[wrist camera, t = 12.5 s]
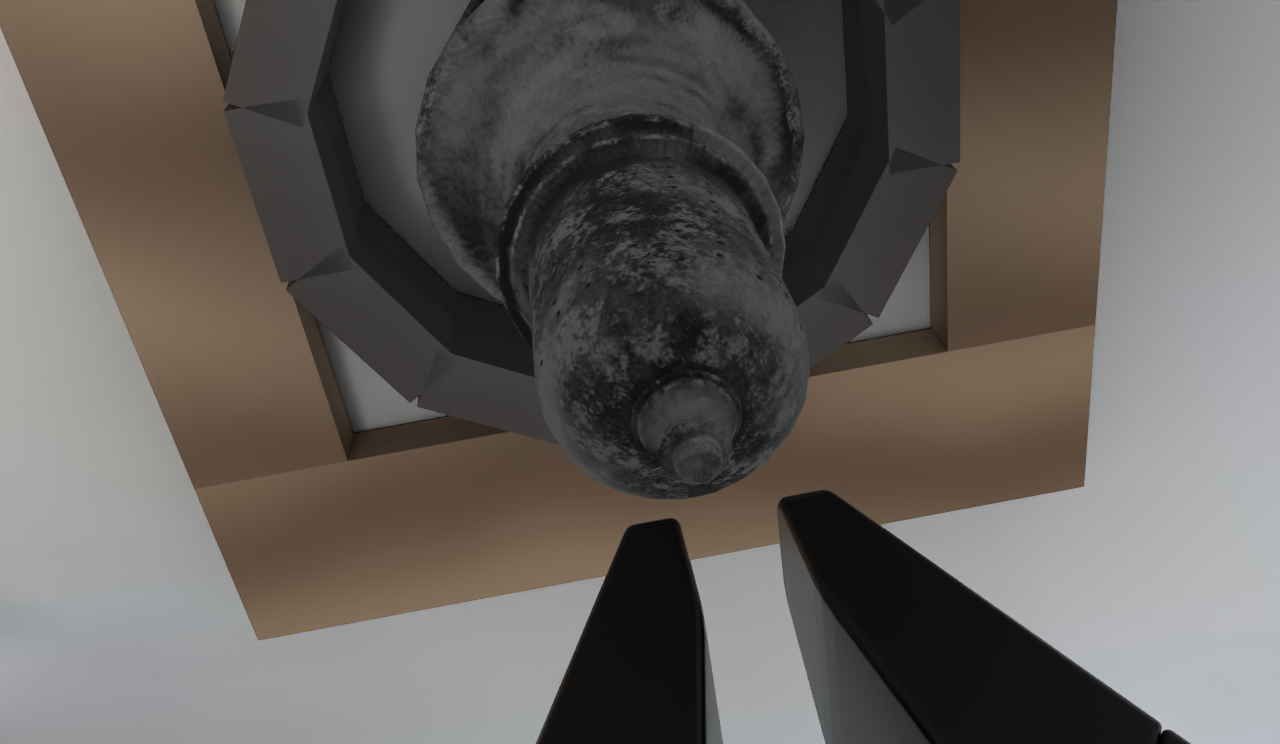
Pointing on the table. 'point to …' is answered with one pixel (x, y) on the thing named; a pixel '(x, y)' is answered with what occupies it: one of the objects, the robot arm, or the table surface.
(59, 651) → the table surface
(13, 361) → the table surface
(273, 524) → the socket board
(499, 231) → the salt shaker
